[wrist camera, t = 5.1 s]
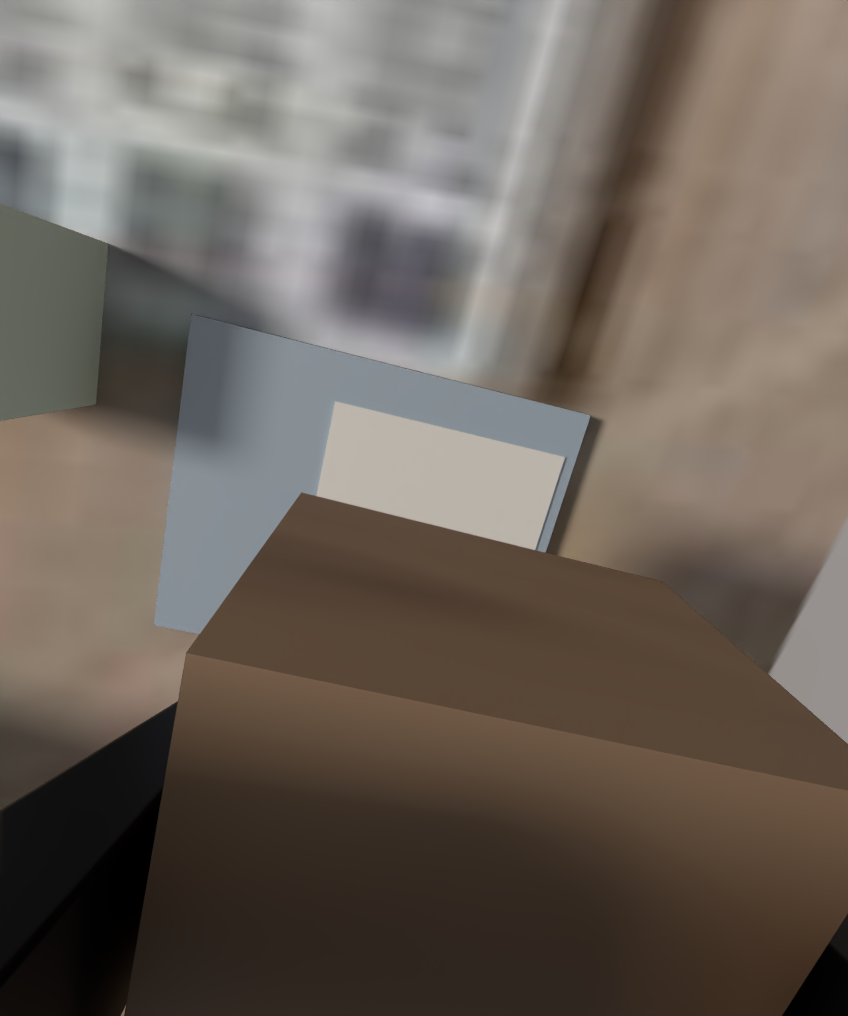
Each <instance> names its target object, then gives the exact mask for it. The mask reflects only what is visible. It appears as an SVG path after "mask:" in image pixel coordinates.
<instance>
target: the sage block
mask: <svg viewBox="0 0 848 1016" xmlns="http://www.w3.org/2000/svg"><path fill="white" fill-rule="evenodd" d="M107 255H108V243H105V242H102V241H100V240H97V239H94V238H92V237H89V236H86V235H83V234H81V233H78V232H75V231H73V230H70V229H67V228H65V227H62V226H59V225H56V224H54V223H51V222H48V221H46V220H43V219H40V218H38V217H35V216H32V215H29V214H27V213H24V212H21V211H19V210H16V209H13V208H11V207H8V206H5V205H2V204H0V421H2V420H8V419H14V418H20V417H26V416H32V415H38V414H44V413H49V412H55V411H61V410H67V409H73V408H79V407H85V406H91V405H96V398H97V385H98V372H99V359H100V346H101V333H102V320H103V307H104V294H105V281H106V268H107Z"/></svg>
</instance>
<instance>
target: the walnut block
mask: <svg viewBox="0 0 848 1016" xmlns="http://www.w3.org/2000/svg"><path fill="white" fill-rule="evenodd" d="M847 914H848V744H847V743H846V742H845V741H844V740H842V739H841V738H840V737H839V736H838V735H837V734H836V733H834V732H833V731H832V730H831V729H830V728H829V727H828V726H827V725H825V724H824V723H823V722H822V721H821V720H819V718H817V717H816V716H815V715H814V714H813V713H812V712H811V711H809V710H808V709H807V708H806V707H805V706H804V705H802V704H801V703H800V702H799V701H798V700H797V699H796V698H794V697H793V696H792V695H791V694H790V693H789V692H788V691H787V690H785V689H784V688H783V687H782V686H781V685H780V684H779V683H777V682H776V681H775V680H774V679H773V678H772V677H771V676H770V675H768V674H767V673H766V672H765V671H764V670H763V669H762V668H760V667H759V666H758V665H757V664H756V663H755V662H754V661H752V660H751V659H750V658H749V657H748V656H747V655H746V654H744V653H743V652H742V651H741V650H740V649H739V648H738V647H736V646H735V645H734V644H733V643H732V642H731V641H730V640H728V639H727V638H726V637H725V636H724V635H723V634H722V633H720V632H719V631H718V630H717V629H716V628H715V627H714V626H713V625H711V624H710V623H709V622H708V621H707V620H706V619H705V618H703V617H702V616H701V615H700V614H699V613H698V612H697V611H695V610H694V609H693V608H692V607H691V606H690V605H689V604H687V603H686V602H685V601H684V600H683V599H682V598H681V597H679V596H678V595H677V594H676V593H675V592H674V591H673V590H671V589H670V588H669V587H668V586H667V585H666V584H665V583H663V582H662V581H658V580H654V579H650V578H646V577H642V576H638V575H634V574H629V573H625V572H621V571H617V570H613V569H609V568H605V567H601V566H597V565H593V564H589V563H585V562H581V561H577V560H573V559H569V558H565V557H561V556H557V555H553V554H549V553H545V552H541V551H537V550H532V549H528V548H524V547H520V546H516V545H512V544H508V543H504V542H500V541H496V540H492V539H488V538H484V537H480V536H476V535H472V534H468V533H464V532H460V531H456V530H452V529H448V528H444V527H440V526H436V525H431V524H427V523H423V522H419V521H415V520H411V519H407V518H403V517H399V516H395V515H391V514H387V513H383V512H379V511H375V510H371V509H367V508H363V507H359V506H355V505H351V504H347V503H343V502H339V501H334V500H330V499H326V498H322V497H318V496H314V495H310V494H306V493H302V492H301V494H300V495H299V496H298V498H297V499H296V501H295V502H294V503H293V505H292V506H291V508H290V509H289V510H288V512H287V513H286V514H285V516H284V517H283V519H282V520H281V521H280V523H279V524H278V526H277V527H276V528H275V530H274V531H273V533H272V534H271V535H270V537H269V538H268V540H267V541H266V542H265V544H264V545H263V547H262V548H261V549H260V551H259V552H258V554H257V555H256V556H255V558H254V559H253V560H252V562H251V563H250V565H249V566H248V567H247V569H246V570H245V572H244V573H243V574H242V576H241V577H240V579H239V580H238V581H237V583H236V584H235V586H234V587H233V588H232V590H231V591H230V593H229V594H228V595H227V597H226V598H225V600H224V601H223V602H222V604H221V605H220V606H219V608H218V609H217V611H216V612H215V613H214V615H213V616H212V618H211V619H210V620H209V622H208V623H207V625H206V626H205V627H204V629H203V630H202V632H201V633H200V634H199V636H198V637H197V639H196V640H195V641H194V643H193V644H192V646H191V647H190V648H189V650H188V651H187V653H186V657H185V663H184V669H183V675H182V680H181V686H180V692H179V698H178V704H177V710H176V716H175V721H174V727H173V733H172V739H171V745H170V751H169V757H168V762H167V768H166V774H165V780H164V786H163V792H162V798H161V803H160V809H159V815H158V821H157V827H156V833H155V839H154V845H153V850H152V856H151V862H150V868H149V874H148V880H147V886H146V891H145V897H144V903H143V909H142V915H141V921H140V927H139V932H138V938H137V944H136V950H135V956H134V962H133V968H132V973H131V979H130V985H129V991H128V997H127V1003H126V1009H125V1014H124V1016H782V1015H783V1013H784V1012H785V1010H786V1009H787V1007H788V1005H789V1004H790V1002H791V1001H792V999H793V998H794V996H795V995H796V993H797V992H798V990H799V988H800V987H801V985H802V984H803V982H804V981H805V979H806V978H807V976H808V974H809V973H810V971H811V970H812V968H813V967H814V965H815V964H816V962H817V960H818V959H819V957H820V956H821V954H822V953H823V951H824V950H825V948H826V947H827V945H828V943H829V942H830V940H831V939H832V937H833V936H834V934H835V933H836V931H837V929H838V928H839V926H840V925H841V923H842V922H843V920H844V919H845V917H846V915H847Z"/></svg>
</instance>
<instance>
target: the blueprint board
mask: <svg viewBox="0 0 848 1016" xmlns="http://www.w3.org/2000/svg"><path fill="white" fill-rule="evenodd" d="M589 419H590V415H587V414H584V413H580V412H576V411H573V410H569V409H565V408H561V407H557V406H553V405H549V404H545V403H541V402H537V401H533V400H529V399H525V398H521V397H517V396H513V395H509V394H505V393H502V392H498V391H494V390H490V389H486V388H482V387H478V386H474V385H470V384H466V383H462V382H458V381H454V380H450V379H446V378H442V377H438V376H434V375H431V374H427V373H423V372H419V371H415V370H411V369H407V368H403V367H399V366H395V365H391V364H387V363H383V362H379V361H375V360H371V359H367V358H363V357H360V356H356V355H352V354H348V353H344V352H340V351H336V350H332V349H328V348H324V347H320V346H316V345H312V344H308V343H304V342H300V341H296V340H292V339H289V338H285V337H281V336H277V335H273V334H269V333H265V332H261V331H257V330H253V329H249V328H245V327H241V326H237V325H233V324H229V323H225V322H221V321H218V320H214V319H210V318H206V317H202V316H197V315H192V314H191V320H190V328H189V336H188V345H187V353H186V361H185V370H184V378H183V386H182V395H181V403H180V411H179V420H178V428H177V436H176V445H175V453H174V461H173V470H172V478H171V486H170V495H169V503H168V511H167V520H166V528H165V536H164V545H163V553H162V561H161V570H160V578H159V586H158V595H157V603H156V611H155V619H154V625H155V626H160V627H165V628H171V629H176V630H181V631H186V632H191V633H197V634H200V633H201V632H202V630H203V629H204V627H205V626H206V625H207V623H208V622H209V620H210V619H211V618H212V616H213V615H214V613H215V612H216V611H217V609H218V608H219V606H220V605H221V604H222V602H223V601H224V600H225V598H226V597H227V595H228V594H229V593H230V591H231V590H232V588H233V587H234V586H235V584H236V583H237V581H238V580H239V579H240V577H241V576H242V574H243V573H244V572H245V570H246V569H247V567H248V566H249V565H250V563H251V562H252V560H253V559H254V558H255V556H256V555H257V554H258V552H259V551H260V549H261V548H262V547H263V545H264V544H265V542H266V541H267V540H268V538H269V537H270V535H271V534H272V533H273V531H274V530H275V528H276V527H277V526H278V524H279V523H280V521H281V520H282V519H283V517H284V516H285V514H286V513H287V512H288V510H289V509H290V508H291V506H292V505H293V503H294V502H295V501H296V499H297V498H298V496H299V495H300V494H301V492H302V493H306V494H310V495H314V496H318V497H322V498H326V499H330V500H334V501H339V502H343V503H347V504H351V505H355V506H359V507H363V508H367V509H371V510H375V511H379V512H383V513H387V514H391V515H395V516H399V517H403V518H407V519H411V520H415V521H419V522H423V523H427V524H431V525H436V526H440V527H444V528H448V529H452V530H456V531H460V532H464V533H468V534H472V535H476V536H480V537H484V538H488V539H492V540H496V541H500V542H504V543H508V544H512V545H516V546H520V547H524V548H528V549H532V550H537V551H541V552H545V553H546V550H547V547H548V544H549V541H550V538H551V535H552V531H553V528H554V525H555V522H556V519H557V516H558V513H559V510H560V507H561V504H562V501H563V498H564V495H565V492H566V489H567V486H568V483H569V480H570V477H571V474H572V471H573V468H574V465H575V462H576V459H577V456H578V452H579V449H580V446H581V443H582V440H583V437H584V434H585V431H586V428H587V425H588V422H589Z"/></svg>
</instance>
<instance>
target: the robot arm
mask: <svg viewBox="0 0 848 1016" xmlns="http://www.w3.org/2000/svg"><path fill="white" fill-rule="evenodd" d="M177 704H178V701H177V702H176V703H174V704H172V705H171V706H169V707H168V708H166V709H164V710H163V711H161V712H159V713H158V714H156V715H155V716H153V717H151V718H150V719H148V720H146V721H145V722H143V723H142V724H140V725H138V726H137V727H135V728H133V729H132V730H130V731H128V732H127V733H125V734H124V735H122V736H120V737H119V738H117V739H115V740H114V741H112V742H111V743H109V744H107V745H106V746H104V747H102V748H101V749H99V750H98V751H96V752H94V753H93V754H91V755H89V756H88V757H86V758H85V759H83V760H81V761H80V762H78V763H76V764H75V765H73V766H72V767H70V768H68V769H67V770H65V771H63V772H62V773H60V774H58V775H57V776H55V777H54V778H52V779H50V780H49V781H47V782H45V783H44V784H42V785H41V786H39V787H37V788H36V789H34V790H32V791H31V792H29V793H28V794H26V795H24V796H23V797H21V798H19V799H18V800H16V801H15V802H13V803H11V804H10V805H8V806H6V807H5V808H3V809H2V810H0V1016H121V1014H122V1012H123V1010H124V1007H125V1005H126V1003H127V997H128V991H129V985H130V979H131V973H132V968H133V962H134V956H135V950H136V944H137V938H138V932H139V927H140V921H141V915H142V909H143V903H144V897H145V891H146V886H147V880H148V874H149V868H150V862H151V856H152V850H153V845H154V839H155V833H156V827H157V821H158V815H159V809H160V803H161V798H162V792H163V786H164V780H165V774H166V768H167V762H168V757H169V751H170V745H171V739H172V733H173V727H174V721H175V716H176V710H177ZM782 1016H848V914H847V915H846V917H845V919H844V920H843V922H842V923H841V925H840V926H839V928H838V929H837V931H836V933H835V934H834V936H833V937H832V939H831V940H830V942H829V943H828V945H827V947H826V948H825V950H824V951H823V953H822V954H821V956H820V957H819V959H818V960H817V962H816V964H815V965H814V967H813V968H812V970H811V971H810V973H809V974H808V976H807V978H806V979H805V981H804V982H803V984H802V985H801V987H800V988H799V990H798V992H797V993H796V995H795V996H794V998H793V999H792V1001H791V1002H790V1004H789V1005H788V1007H787V1009H786V1010H785V1012H784V1013H783V1015H782Z"/></svg>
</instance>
